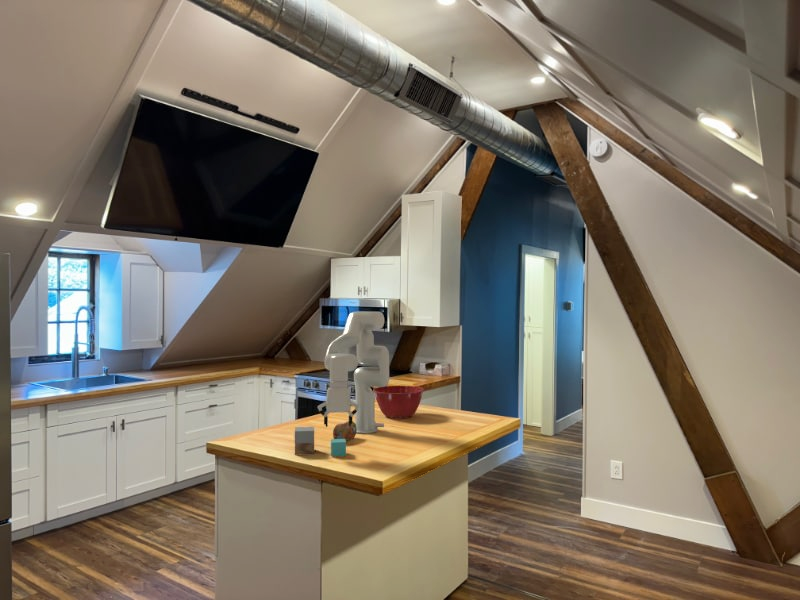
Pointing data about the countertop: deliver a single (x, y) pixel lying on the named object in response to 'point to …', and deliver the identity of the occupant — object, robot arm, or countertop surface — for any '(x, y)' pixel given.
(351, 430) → the tin
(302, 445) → the tower base
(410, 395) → the mixing bowl
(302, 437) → the block
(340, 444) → the teal cube
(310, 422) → the countertop surface
